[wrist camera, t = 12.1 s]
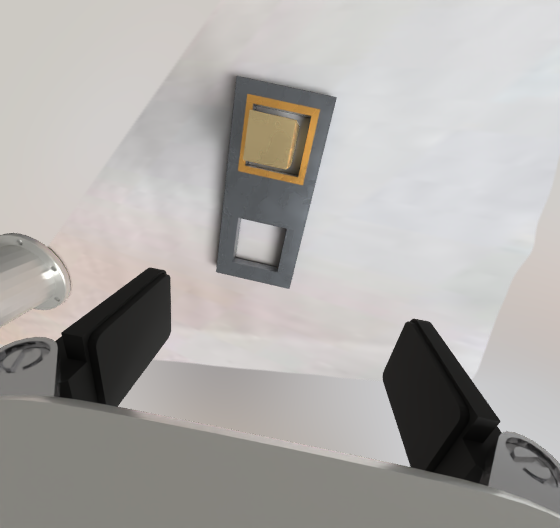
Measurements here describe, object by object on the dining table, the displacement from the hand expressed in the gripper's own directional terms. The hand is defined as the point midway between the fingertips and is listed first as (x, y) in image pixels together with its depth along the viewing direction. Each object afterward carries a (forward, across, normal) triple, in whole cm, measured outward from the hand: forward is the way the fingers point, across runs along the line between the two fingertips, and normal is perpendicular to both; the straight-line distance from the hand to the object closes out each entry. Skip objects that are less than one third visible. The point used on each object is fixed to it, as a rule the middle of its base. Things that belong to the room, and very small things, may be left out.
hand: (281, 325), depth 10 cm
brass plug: (+23, +4, -6) cm, 24 cm away
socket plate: (+23, +4, 0) cm, 24 cm away
